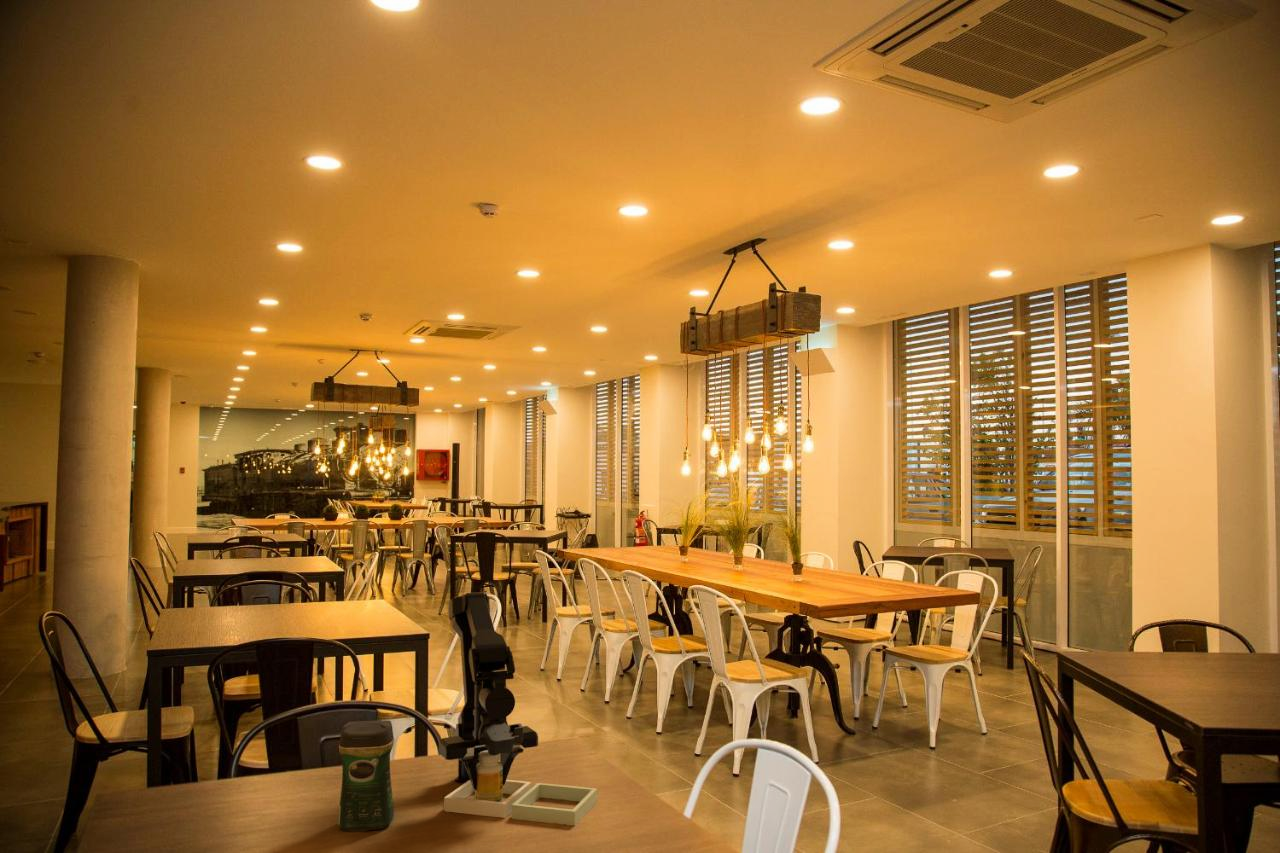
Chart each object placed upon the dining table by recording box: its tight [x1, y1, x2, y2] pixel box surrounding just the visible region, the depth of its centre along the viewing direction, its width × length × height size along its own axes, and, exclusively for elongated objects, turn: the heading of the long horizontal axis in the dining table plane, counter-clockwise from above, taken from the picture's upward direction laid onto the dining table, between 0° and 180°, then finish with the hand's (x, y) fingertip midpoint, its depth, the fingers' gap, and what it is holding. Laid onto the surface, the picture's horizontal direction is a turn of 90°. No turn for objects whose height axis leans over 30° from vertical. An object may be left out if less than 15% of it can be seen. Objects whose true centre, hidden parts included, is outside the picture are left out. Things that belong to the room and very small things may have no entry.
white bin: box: [443, 779, 532, 819], centre depth 175 cm, size 13×13×2 cm
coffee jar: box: [337, 720, 395, 832], centre depth 164 cm, size 10×8×19 cm
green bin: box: [511, 782, 598, 826], centre depth 171 cm, size 13×13×2 cm
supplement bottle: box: [474, 750, 503, 802], centre depth 175 cm, size 5×5×10 cm
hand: (488, 787), depth 175 cm, fingers closed on supplement bottle, 5 cm apart
